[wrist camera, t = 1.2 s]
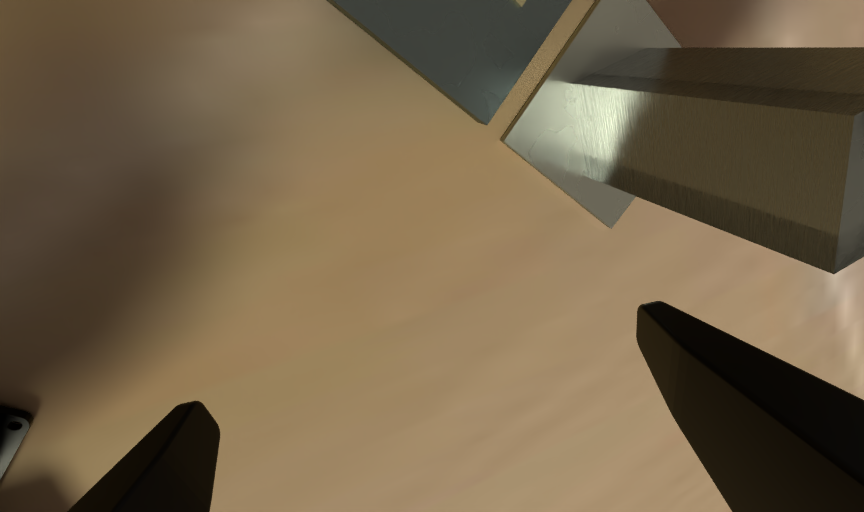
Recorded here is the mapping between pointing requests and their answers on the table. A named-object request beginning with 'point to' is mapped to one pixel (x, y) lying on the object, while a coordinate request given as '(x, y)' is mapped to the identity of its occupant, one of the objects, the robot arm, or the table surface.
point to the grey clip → (737, 142)
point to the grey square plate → (555, 110)
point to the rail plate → (461, 42)
